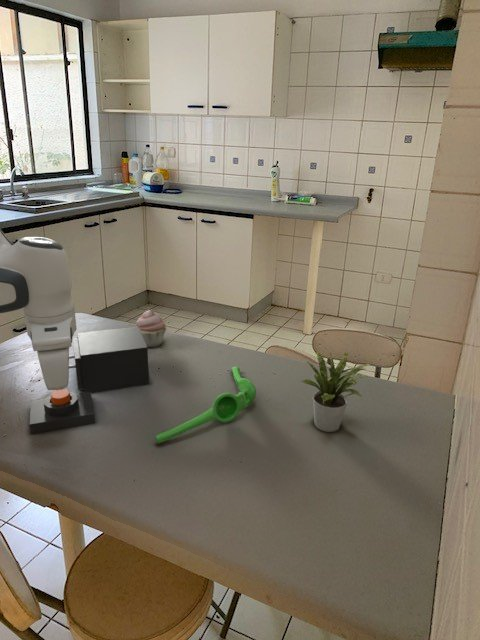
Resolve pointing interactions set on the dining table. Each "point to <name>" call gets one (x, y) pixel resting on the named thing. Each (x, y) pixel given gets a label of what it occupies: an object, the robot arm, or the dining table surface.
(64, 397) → the button
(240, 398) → the lime squeezer
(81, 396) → the panel
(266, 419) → the dining table surface
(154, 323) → the cupcake
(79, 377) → the basket drawer
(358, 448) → the dining table surface
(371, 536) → the dining table surface
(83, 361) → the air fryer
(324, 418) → the house plant
